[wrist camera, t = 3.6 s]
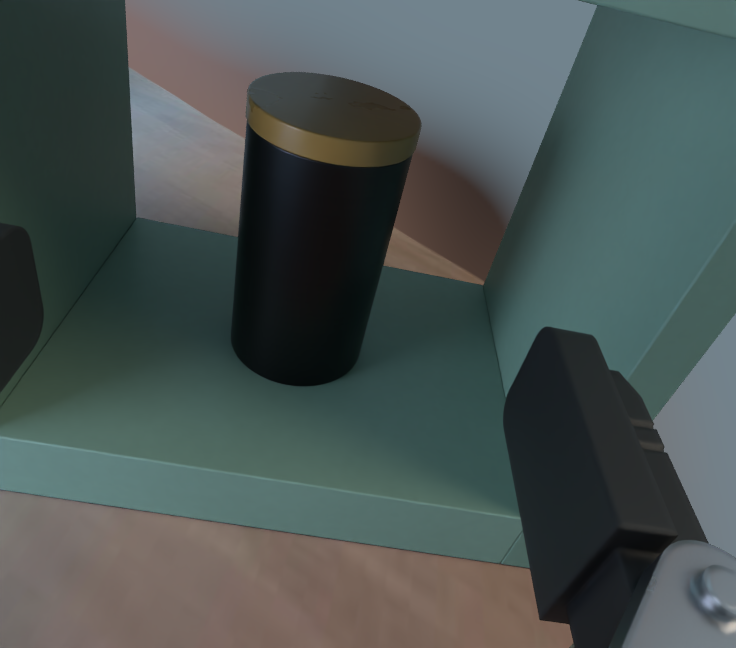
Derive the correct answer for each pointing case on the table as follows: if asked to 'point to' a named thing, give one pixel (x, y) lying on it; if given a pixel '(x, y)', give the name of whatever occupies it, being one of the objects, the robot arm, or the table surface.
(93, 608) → the table surface
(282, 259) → the black tea tin
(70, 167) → the shelf
